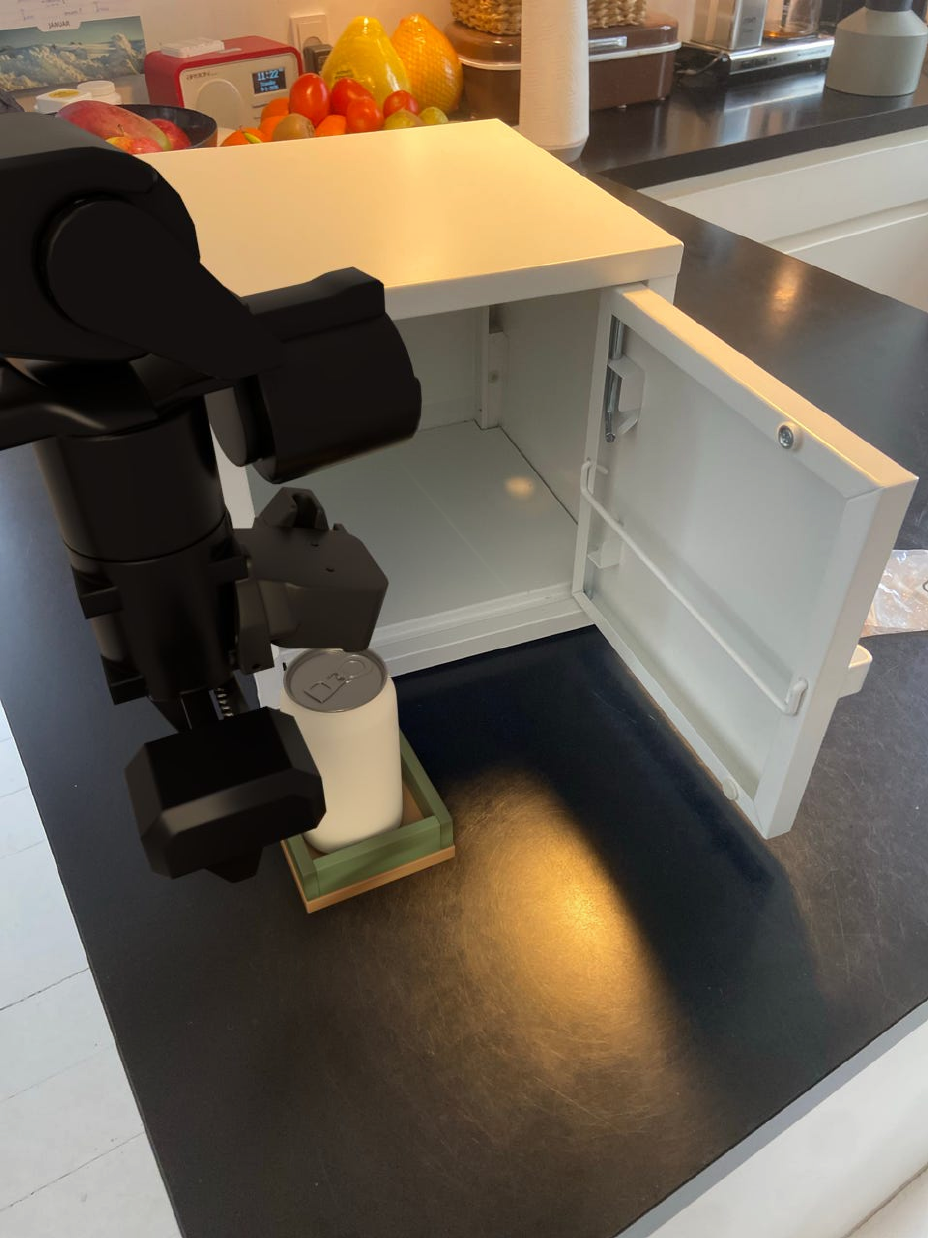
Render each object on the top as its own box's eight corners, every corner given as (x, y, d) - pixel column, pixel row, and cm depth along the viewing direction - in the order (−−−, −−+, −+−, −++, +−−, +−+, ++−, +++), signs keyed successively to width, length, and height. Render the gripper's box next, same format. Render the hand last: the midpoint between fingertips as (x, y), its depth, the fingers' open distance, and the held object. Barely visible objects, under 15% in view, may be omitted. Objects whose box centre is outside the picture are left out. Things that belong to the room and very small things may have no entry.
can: (425, 813, 57) (420, 670, 50) (350, 880, 53) (333, 735, 46) (352, 763, 60) (337, 622, 53) (277, 823, 57) (249, 679, 49)
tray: (308, 914, 53) (301, 878, 51) (263, 799, 59) (255, 763, 57) (455, 856, 56) (455, 820, 54) (398, 753, 62) (395, 717, 60)
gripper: (457, 602, 29) (459, 894, 39) (287, 378, 42) (321, 638, 52) (91, 707, 25) (196, 1000, 35) (30, 425, 38) (118, 696, 48)
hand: (218, 801), depth 43 cm, fingers open, 9 cm apart
